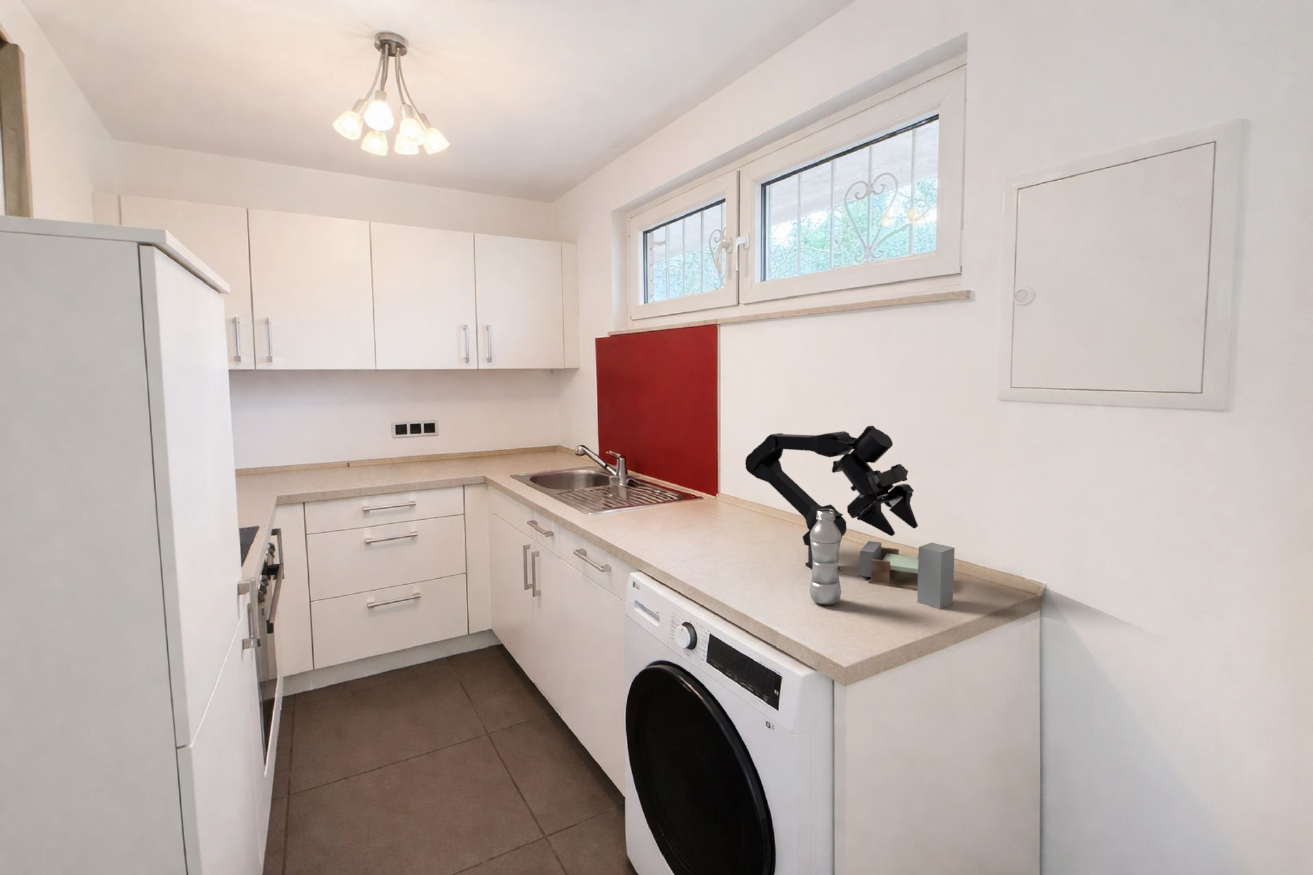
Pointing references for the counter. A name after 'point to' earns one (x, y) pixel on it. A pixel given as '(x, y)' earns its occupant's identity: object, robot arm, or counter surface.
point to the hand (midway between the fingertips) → (905, 531)
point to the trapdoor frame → (891, 573)
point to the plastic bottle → (825, 559)
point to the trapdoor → (896, 561)
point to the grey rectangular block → (935, 575)
